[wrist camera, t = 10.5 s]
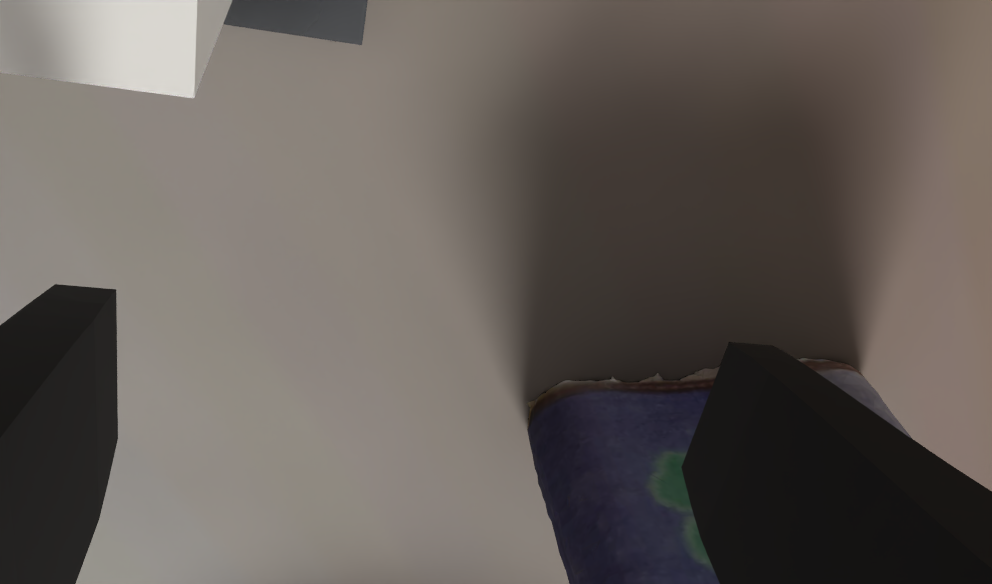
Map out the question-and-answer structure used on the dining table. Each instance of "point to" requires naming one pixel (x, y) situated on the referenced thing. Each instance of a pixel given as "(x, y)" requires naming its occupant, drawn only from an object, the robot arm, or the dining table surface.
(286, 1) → the cup brackets
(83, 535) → the robot arm
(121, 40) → the rail
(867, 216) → the dining table surface
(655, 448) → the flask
